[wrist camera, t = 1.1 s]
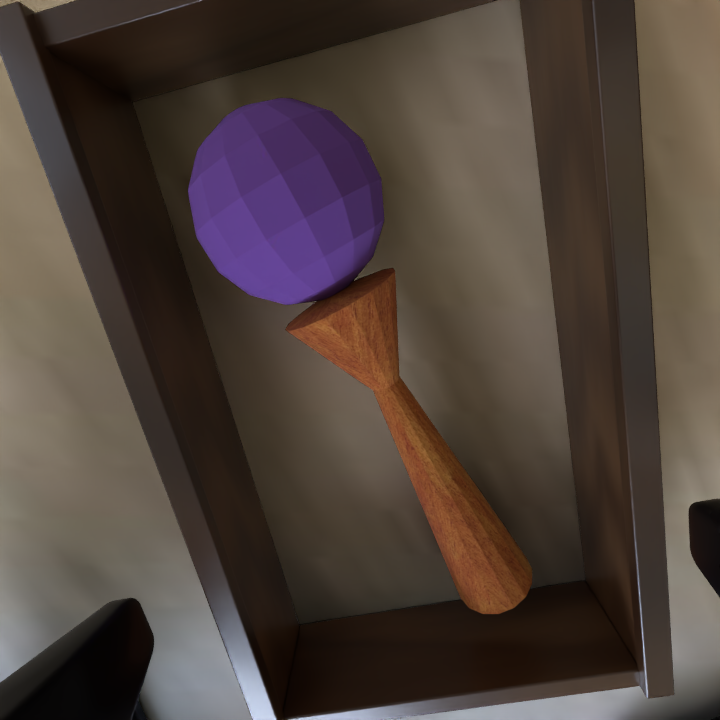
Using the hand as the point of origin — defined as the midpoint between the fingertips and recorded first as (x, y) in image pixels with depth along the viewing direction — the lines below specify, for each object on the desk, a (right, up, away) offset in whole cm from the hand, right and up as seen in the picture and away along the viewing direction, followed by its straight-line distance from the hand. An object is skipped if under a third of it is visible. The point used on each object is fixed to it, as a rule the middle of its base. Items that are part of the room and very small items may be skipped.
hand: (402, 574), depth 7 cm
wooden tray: (+1, +3, +11) cm, 12 cm away
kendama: (+1, +3, +11) cm, 12 cm away
